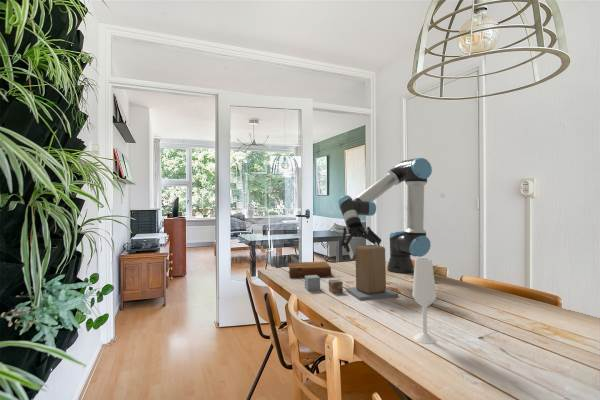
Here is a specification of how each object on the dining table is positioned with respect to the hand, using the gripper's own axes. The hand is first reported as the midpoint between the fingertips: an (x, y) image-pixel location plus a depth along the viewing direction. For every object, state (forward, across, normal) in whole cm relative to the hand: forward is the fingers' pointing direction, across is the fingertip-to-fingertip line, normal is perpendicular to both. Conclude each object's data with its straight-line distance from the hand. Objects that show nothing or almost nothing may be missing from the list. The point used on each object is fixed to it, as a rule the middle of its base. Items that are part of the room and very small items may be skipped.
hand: (366, 256), depth 157 cm
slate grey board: (+14, -1, -9) cm, 17 cm away
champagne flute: (+49, +6, +27) cm, 57 cm away
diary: (-21, +15, -46) cm, 53 cm away
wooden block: (+13, 0, -9) cm, 16 cm away
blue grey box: (+2, +22, -21) cm, 31 cm away
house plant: (+28, -16, +5) cm, 33 cm away
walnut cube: (+8, +13, -15) cm, 22 cm away
